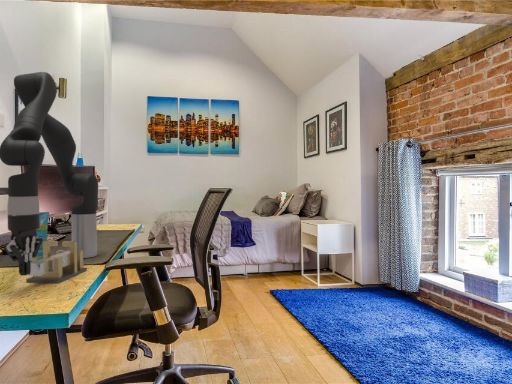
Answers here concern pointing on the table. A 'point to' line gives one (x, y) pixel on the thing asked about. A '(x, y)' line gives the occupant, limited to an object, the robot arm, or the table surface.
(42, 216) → the tube
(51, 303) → the table surface
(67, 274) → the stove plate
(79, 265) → the tan bracket pieces
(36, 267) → the rod
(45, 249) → the bridge
